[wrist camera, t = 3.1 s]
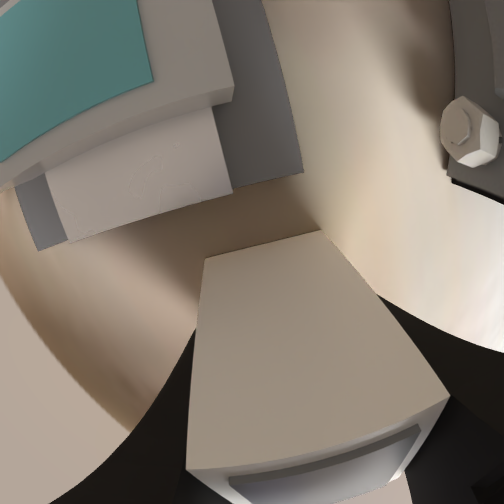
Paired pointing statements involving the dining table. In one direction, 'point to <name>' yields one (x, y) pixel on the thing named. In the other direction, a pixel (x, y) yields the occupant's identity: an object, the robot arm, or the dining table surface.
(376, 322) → the block
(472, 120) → the electrical component
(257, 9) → the plate
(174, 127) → the din rail
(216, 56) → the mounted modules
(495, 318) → the dining table surface
